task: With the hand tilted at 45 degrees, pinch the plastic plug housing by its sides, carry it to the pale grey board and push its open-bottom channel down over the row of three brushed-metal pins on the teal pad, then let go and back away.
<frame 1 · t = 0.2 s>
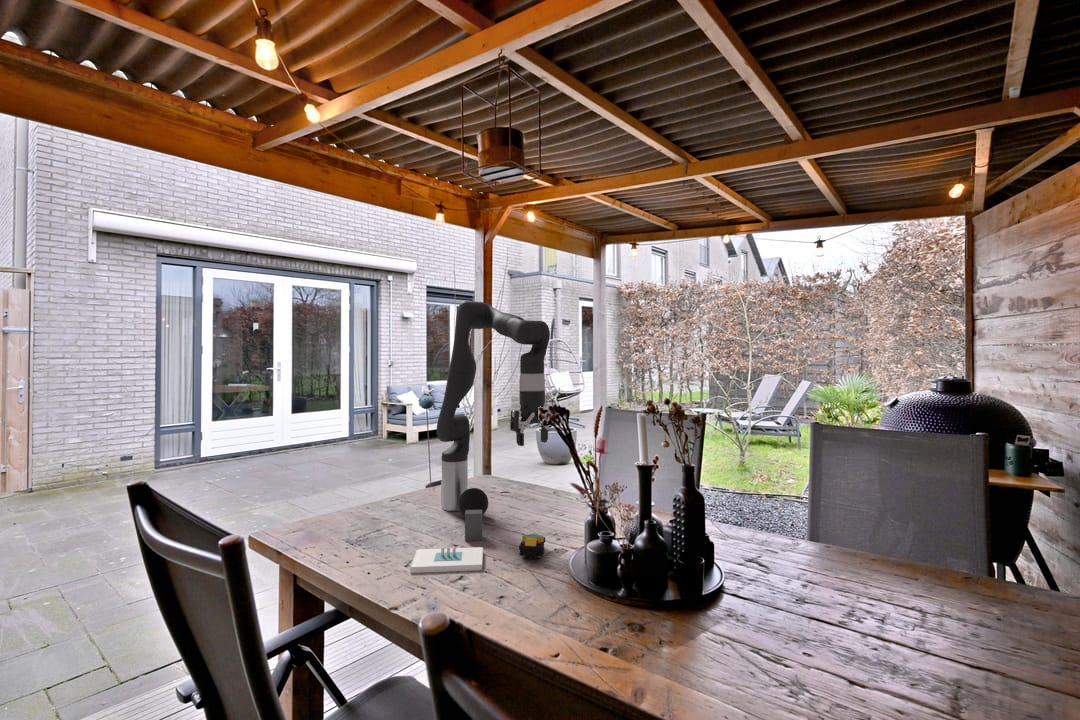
hand: (532, 443, 155), 29 cm above the table, fingers open, 8 cm apart
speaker: (473, 518, 178), on the table
plug housing: (473, 538, 158), on the table
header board: (448, 562, 140), on the table
black bowl with blocks: (533, 554, 146), on the table
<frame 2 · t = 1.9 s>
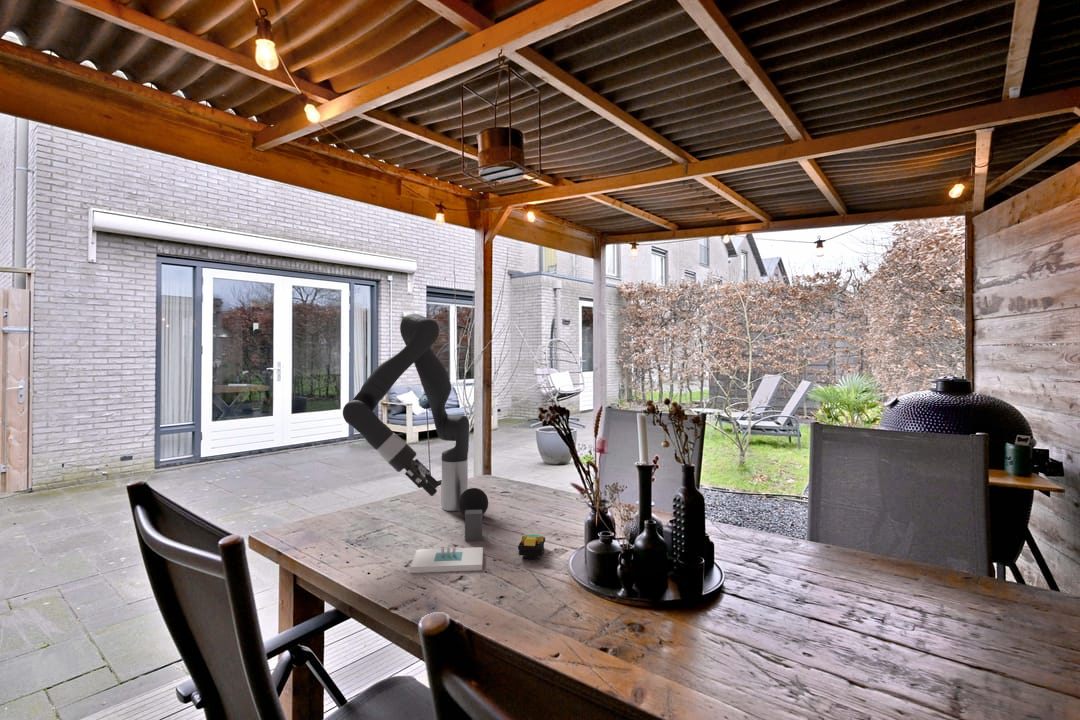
hand: (436, 490, 157), 15 cm above the table, fingers open, 8 cm apart
nothing on the table moved.
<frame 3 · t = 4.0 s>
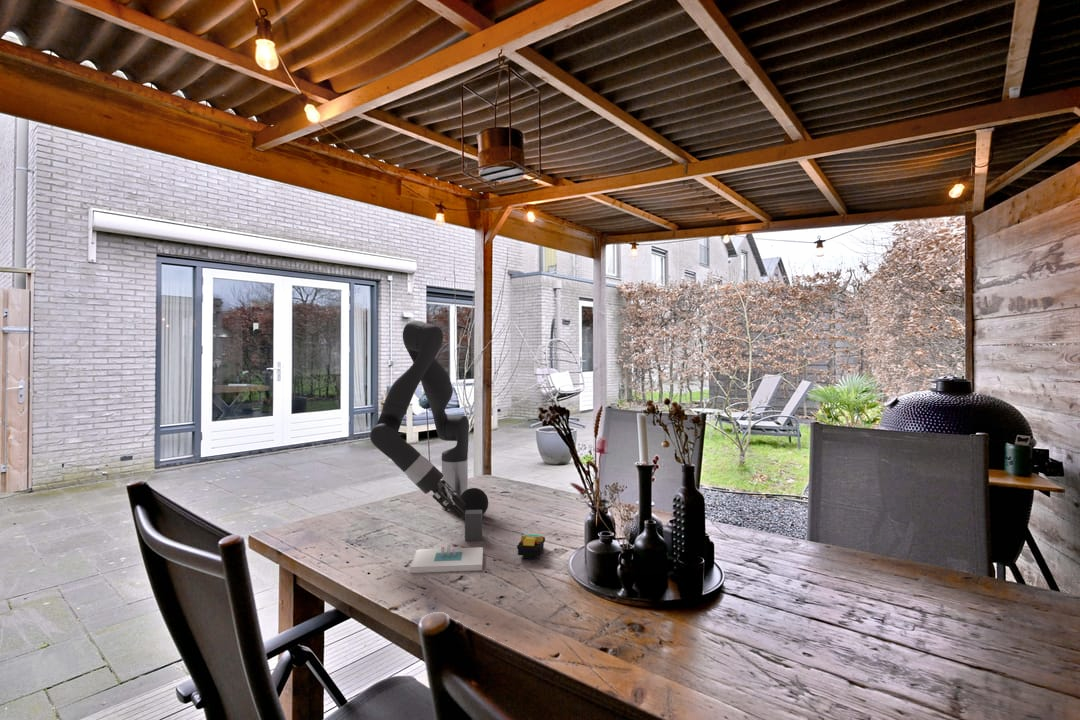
hand: (462, 511, 158), 8 cm above the table, fingers open, 8 cm apart
nothing on the table moved.
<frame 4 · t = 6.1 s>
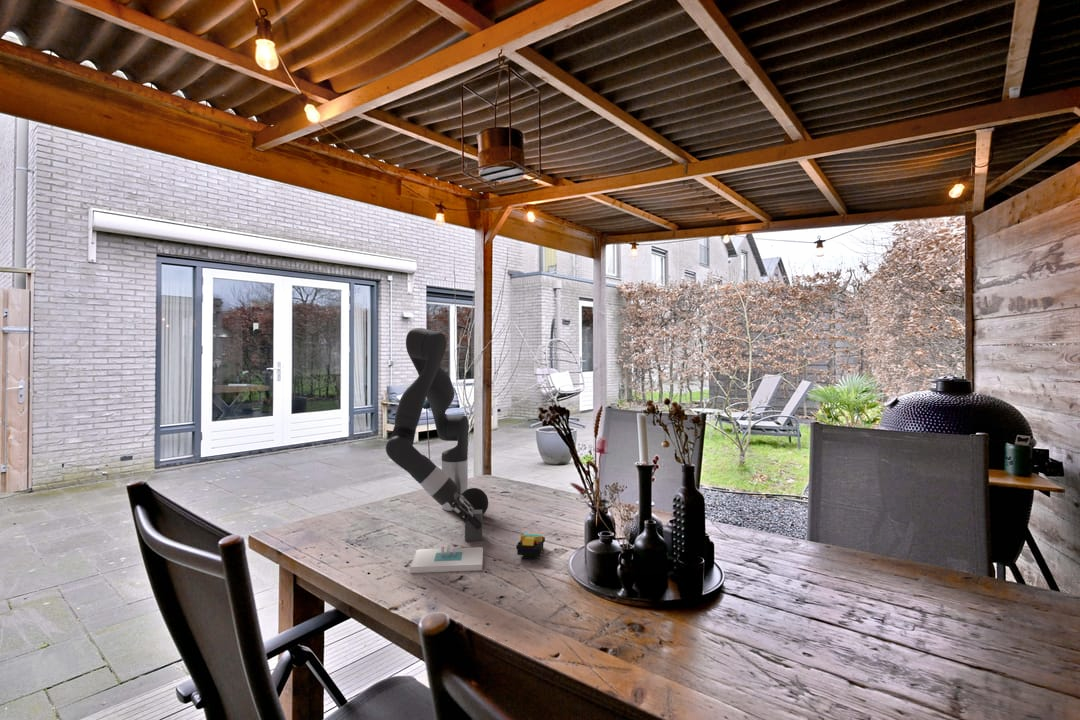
hand: (480, 524, 158), 4 cm above the table, fingers closed on plug housing, 4 cm apart
plug housing: (473, 538, 158), on the table, touching gripper
everything else where it was.
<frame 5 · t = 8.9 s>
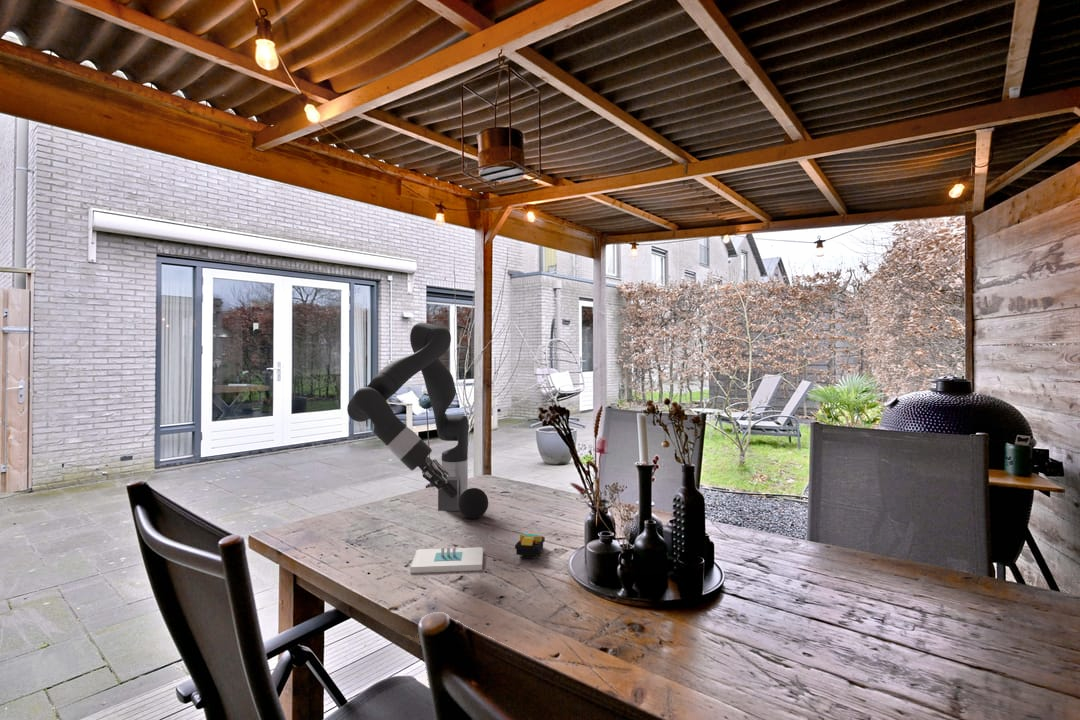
hand: (455, 493, 140), 18 cm above the table, fingers closed on plug housing, 4 cm apart
plug housing: (448, 508, 140), point 14 cm above the table, touching gripper
everything else where it was.
when the fingers open (6 cm above the table, at t = 12.2 s): plug housing stays where it is, resting on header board.
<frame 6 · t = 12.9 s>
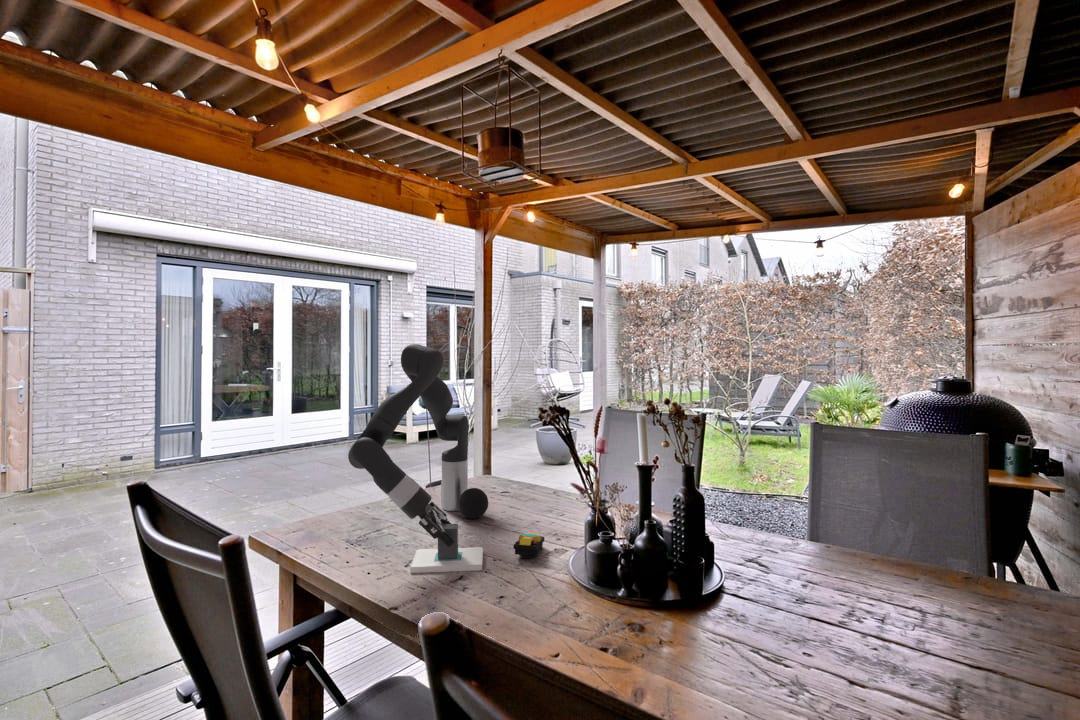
hand: (453, 538, 140), 6 cm above the table, fingers open, 8 cm apart
plug housing: (448, 556, 140), point 2 cm above the table, touching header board
everything else where it was.
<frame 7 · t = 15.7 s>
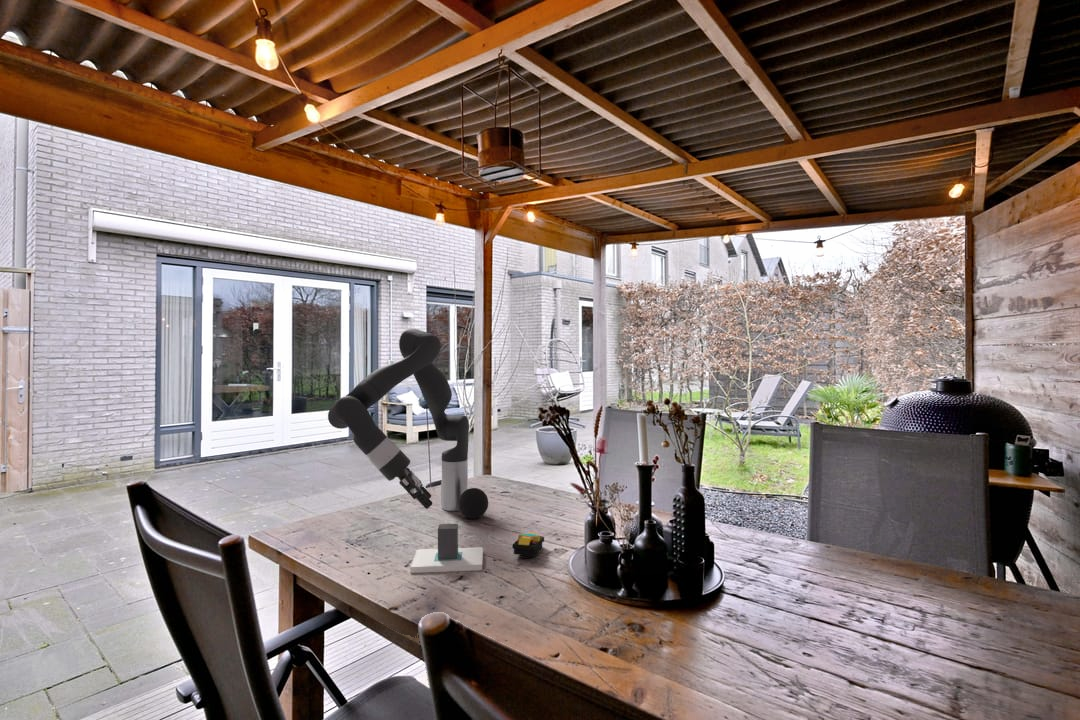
hand: (429, 502, 142), 15 cm above the table, fingers open, 8 cm apart
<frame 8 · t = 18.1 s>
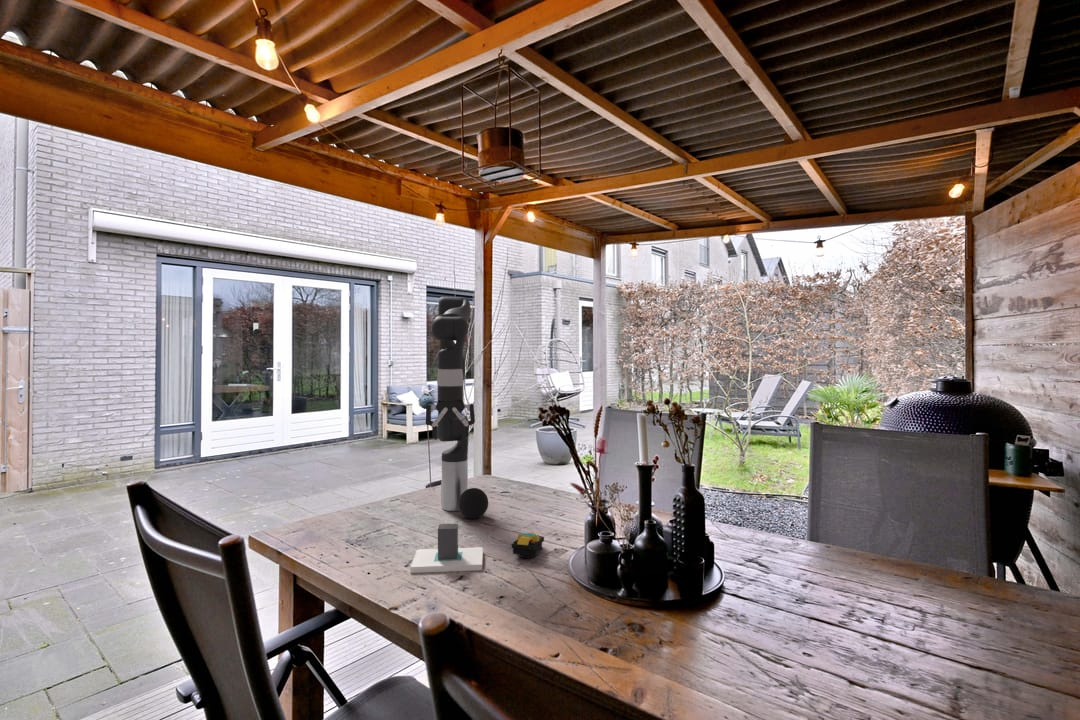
hand: (450, 439, 156), 30 cm above the table, fingers open, 8 cm apart
at the end: plug housing 0.1 cm off-centre on the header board, point 1.6 cm above the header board's base; plug housing tilted 0°; the gripper is holding nothing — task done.
